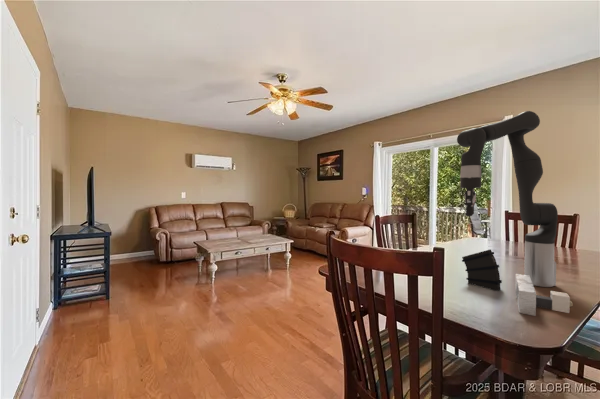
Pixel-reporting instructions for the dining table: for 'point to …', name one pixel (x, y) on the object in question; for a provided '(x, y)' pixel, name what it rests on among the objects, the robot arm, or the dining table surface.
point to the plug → (555, 301)
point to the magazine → (483, 270)
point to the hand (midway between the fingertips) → (470, 215)
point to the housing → (525, 294)
